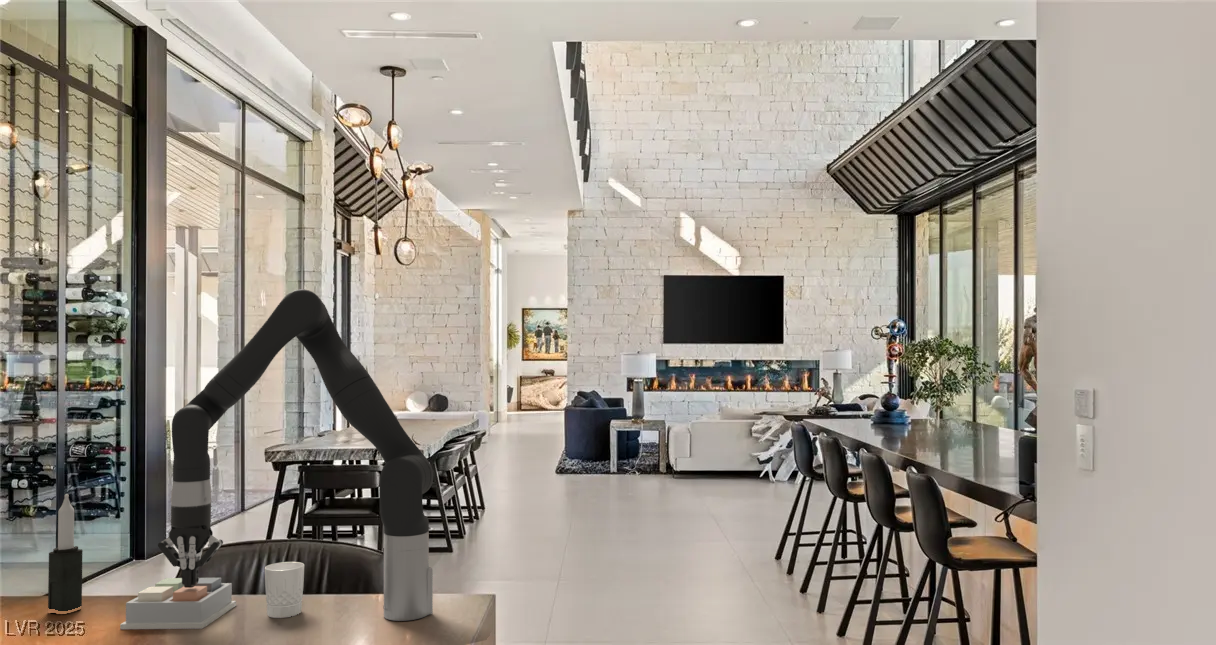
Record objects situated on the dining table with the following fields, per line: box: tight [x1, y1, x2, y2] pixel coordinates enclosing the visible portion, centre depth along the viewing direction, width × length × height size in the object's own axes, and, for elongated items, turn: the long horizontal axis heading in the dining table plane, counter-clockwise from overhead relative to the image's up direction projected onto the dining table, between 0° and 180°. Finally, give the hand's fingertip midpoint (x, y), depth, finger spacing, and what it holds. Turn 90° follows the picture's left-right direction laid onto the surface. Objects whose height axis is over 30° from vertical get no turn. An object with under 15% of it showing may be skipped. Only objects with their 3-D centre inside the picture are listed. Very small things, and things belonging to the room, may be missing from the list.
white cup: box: [264, 561, 305, 619], centre depth 188 cm, size 8×8×10 cm
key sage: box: [154, 577, 184, 592], centre depth 190 cm, size 5×5×3 cm
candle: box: [47, 493, 84, 611], centre depth 192 cm, size 5×5×25 cm
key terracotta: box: [173, 586, 207, 601], centre depth 183 cm, size 5×5×3 cm
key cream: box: [137, 586, 173, 602], centre depth 183 cm, size 5×5×3 cm
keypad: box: [119, 582, 237, 630], centre depth 186 cm, size 16×16×5 cm
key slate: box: [196, 577, 222, 592], centre depth 190 cm, size 5×5×3 cm
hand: (190, 586), depth 183 cm, fingers closed
